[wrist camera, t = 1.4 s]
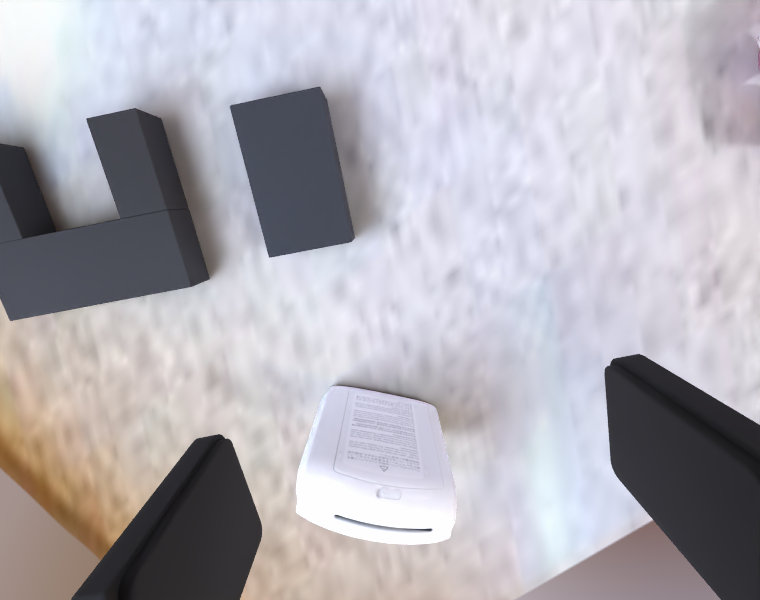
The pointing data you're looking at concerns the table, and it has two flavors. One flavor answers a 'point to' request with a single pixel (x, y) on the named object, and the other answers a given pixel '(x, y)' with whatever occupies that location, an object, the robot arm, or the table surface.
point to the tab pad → (294, 171)
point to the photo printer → (377, 469)
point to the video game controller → (759, 51)
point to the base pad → (99, 227)
